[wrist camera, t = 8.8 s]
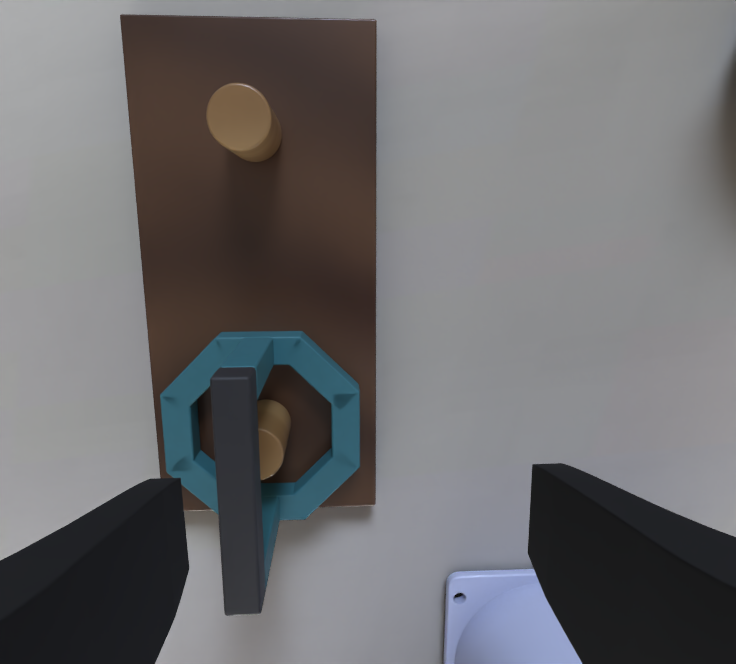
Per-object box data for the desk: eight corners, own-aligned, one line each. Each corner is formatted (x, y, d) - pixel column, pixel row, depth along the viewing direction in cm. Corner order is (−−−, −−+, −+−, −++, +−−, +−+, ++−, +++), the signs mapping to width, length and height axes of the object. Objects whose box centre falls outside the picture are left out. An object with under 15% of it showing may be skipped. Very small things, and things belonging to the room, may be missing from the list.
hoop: (359, 504, 20) (366, 612, 15) (178, 509, 20) (115, 621, 14) (358, 330, 19) (367, 374, 13) (164, 332, 18) (88, 379, 13)
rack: (373, 493, 21) (381, 550, 17) (171, 499, 21) (134, 558, 17) (374, 30, 18) (384, -22, 14) (131, 25, 17) (74, -29, 14)
